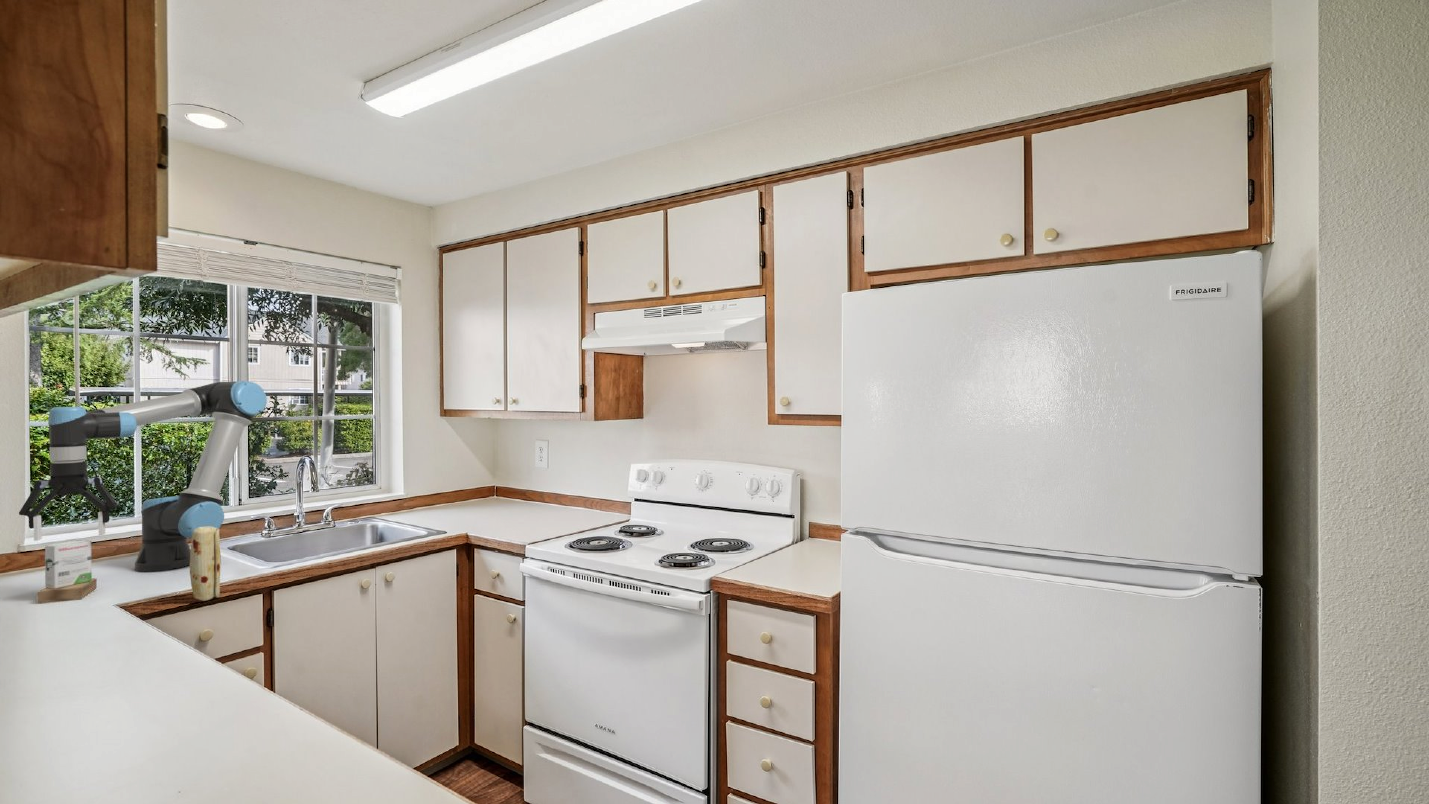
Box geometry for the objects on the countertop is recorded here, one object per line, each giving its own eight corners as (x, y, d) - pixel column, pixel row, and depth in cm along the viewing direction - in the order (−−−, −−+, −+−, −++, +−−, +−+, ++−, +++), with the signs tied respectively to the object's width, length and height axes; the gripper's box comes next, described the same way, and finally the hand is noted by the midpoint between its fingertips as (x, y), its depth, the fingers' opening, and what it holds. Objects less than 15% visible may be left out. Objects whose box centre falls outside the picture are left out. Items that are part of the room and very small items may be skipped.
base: (96, 589, 198) (96, 577, 198) (81, 599, 187) (81, 587, 187) (55, 593, 194) (55, 581, 194) (37, 603, 183) (37, 591, 183)
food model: (195, 596, 189) (195, 524, 189) (224, 593, 192) (224, 522, 192) (185, 605, 180) (185, 530, 180) (216, 602, 183) (216, 528, 183)
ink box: (82, 580, 195) (82, 538, 195) (92, 581, 194) (92, 540, 194) (43, 587, 187) (43, 544, 187) (54, 589, 185) (54, 545, 186)
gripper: (129, 458, 200) (131, 530, 200) (13, 463, 188) (16, 539, 188) (121, 460, 193) (123, 534, 193) (1, 465, 181) (3, 544, 182)
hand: (70, 537), depth 191 cm, fingers open, 13 cm apart
